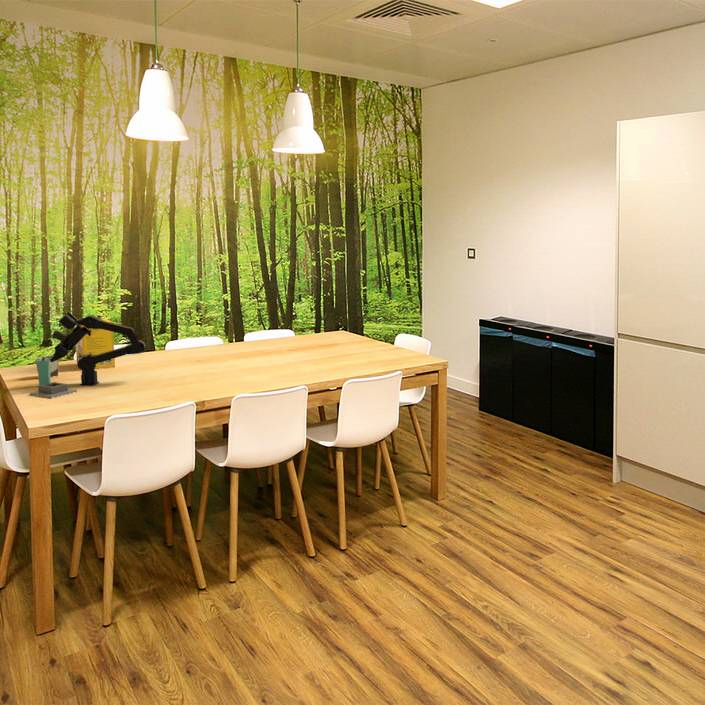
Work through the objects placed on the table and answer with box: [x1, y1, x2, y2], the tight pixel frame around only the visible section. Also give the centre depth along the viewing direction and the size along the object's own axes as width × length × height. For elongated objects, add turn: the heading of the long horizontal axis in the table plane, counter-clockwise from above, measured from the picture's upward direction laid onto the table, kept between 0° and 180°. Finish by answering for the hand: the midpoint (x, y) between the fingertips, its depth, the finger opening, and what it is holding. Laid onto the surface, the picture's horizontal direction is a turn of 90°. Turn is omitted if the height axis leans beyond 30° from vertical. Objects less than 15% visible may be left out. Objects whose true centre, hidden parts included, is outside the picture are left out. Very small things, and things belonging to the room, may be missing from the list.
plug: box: [36, 356, 52, 386], centre depth 328 cm, size 4×4×14 cm
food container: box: [34, 355, 61, 378], centre depth 348 cm, size 12×6×10 cm, turn 141°
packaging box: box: [73, 317, 116, 370], centre depth 372 cm, size 16×16×25 cm
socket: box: [29, 381, 78, 399], centre depth 314 cm, size 14×14×4 cm
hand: (52, 359), depth 328 cm, fingers open, 9 cm apart
